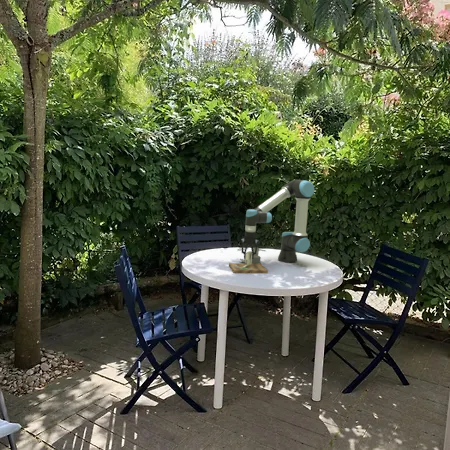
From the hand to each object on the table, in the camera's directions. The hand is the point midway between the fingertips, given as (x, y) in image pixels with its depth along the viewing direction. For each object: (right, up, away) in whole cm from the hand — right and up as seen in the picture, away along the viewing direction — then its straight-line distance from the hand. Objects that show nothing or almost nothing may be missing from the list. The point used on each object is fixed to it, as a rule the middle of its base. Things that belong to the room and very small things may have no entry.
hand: (248, 263), depth 302 cm
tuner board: (-1, -4, -2) cm, 5 cm away
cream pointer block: (-1, -2, -2) cm, 4 cm away
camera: (+2, -2, +17) cm, 17 cm away
